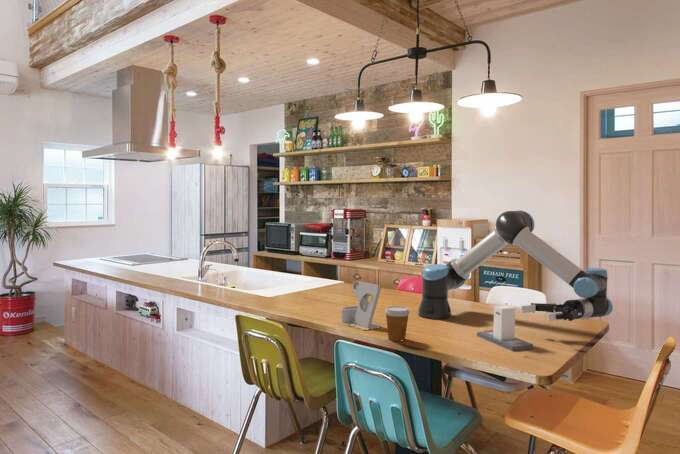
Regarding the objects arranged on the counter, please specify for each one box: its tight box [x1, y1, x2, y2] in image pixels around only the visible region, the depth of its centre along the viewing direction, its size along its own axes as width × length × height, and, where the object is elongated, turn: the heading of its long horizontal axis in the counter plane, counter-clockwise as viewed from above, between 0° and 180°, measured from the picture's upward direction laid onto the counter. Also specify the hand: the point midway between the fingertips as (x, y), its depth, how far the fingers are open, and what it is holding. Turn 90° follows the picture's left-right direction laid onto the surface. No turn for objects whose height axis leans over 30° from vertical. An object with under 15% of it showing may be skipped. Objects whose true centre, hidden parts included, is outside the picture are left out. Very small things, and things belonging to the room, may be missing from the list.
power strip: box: [476, 328, 534, 352], centre depth 179 cm, size 20×9×4 cm, turn 20°
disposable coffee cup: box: [384, 305, 411, 342], centre depth 186 cm, size 10×10×12 cm
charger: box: [493, 304, 516, 341], centre depth 179 cm, size 4×6×13 cm
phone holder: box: [340, 280, 382, 330], centre depth 207 cm, size 17×10×18 cm, turn 39°
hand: (534, 313), depth 182 cm, fingers open, 13 cm apart
